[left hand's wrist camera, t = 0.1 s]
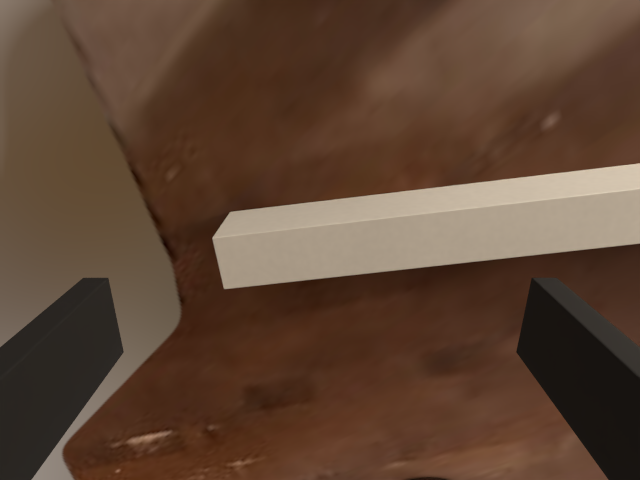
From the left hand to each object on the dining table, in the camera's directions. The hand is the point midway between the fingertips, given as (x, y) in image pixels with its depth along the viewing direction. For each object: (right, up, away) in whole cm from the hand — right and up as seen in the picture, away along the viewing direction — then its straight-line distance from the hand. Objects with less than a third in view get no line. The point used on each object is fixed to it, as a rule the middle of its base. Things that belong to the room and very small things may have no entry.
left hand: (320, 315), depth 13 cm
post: (+30, +7, +27) cm, 41 cm away
